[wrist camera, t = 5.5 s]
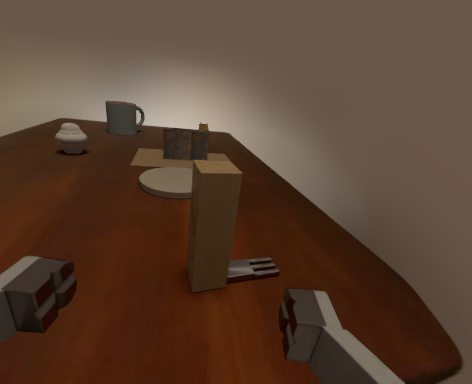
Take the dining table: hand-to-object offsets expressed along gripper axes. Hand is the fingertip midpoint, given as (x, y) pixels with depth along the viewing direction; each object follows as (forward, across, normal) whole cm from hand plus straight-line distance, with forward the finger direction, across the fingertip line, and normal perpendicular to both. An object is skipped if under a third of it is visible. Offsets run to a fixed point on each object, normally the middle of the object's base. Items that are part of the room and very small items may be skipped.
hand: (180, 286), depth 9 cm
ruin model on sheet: (+55, +11, +11) cm, 57 cm away
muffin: (+48, +36, +11) cm, 61 cm away
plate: (+36, +9, +11) cm, 39 cm away
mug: (+79, +37, +11) cm, 88 cm away
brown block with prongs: (+13, -3, +11) cm, 17 cm away
